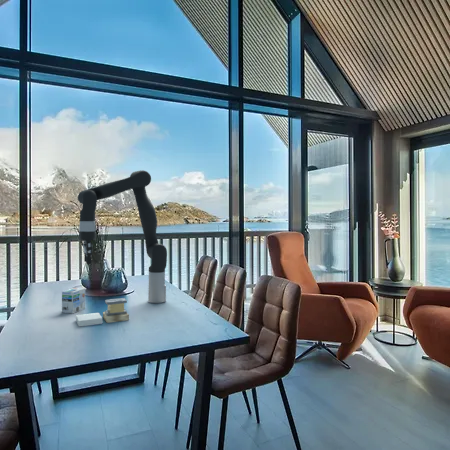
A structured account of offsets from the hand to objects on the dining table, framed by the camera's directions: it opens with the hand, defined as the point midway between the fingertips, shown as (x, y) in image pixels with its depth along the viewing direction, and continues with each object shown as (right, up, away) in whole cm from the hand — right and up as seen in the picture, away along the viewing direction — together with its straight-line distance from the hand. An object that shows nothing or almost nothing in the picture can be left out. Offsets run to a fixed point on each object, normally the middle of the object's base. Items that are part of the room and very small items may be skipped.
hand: (87, 262), depth 176 cm
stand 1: (+6, -26, -14) cm, 30 cm away
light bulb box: (-9, -25, +5) cm, 27 cm away
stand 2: (+16, -26, -8) cm, 32 cm away
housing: (+16, -23, -8) cm, 30 cm away
